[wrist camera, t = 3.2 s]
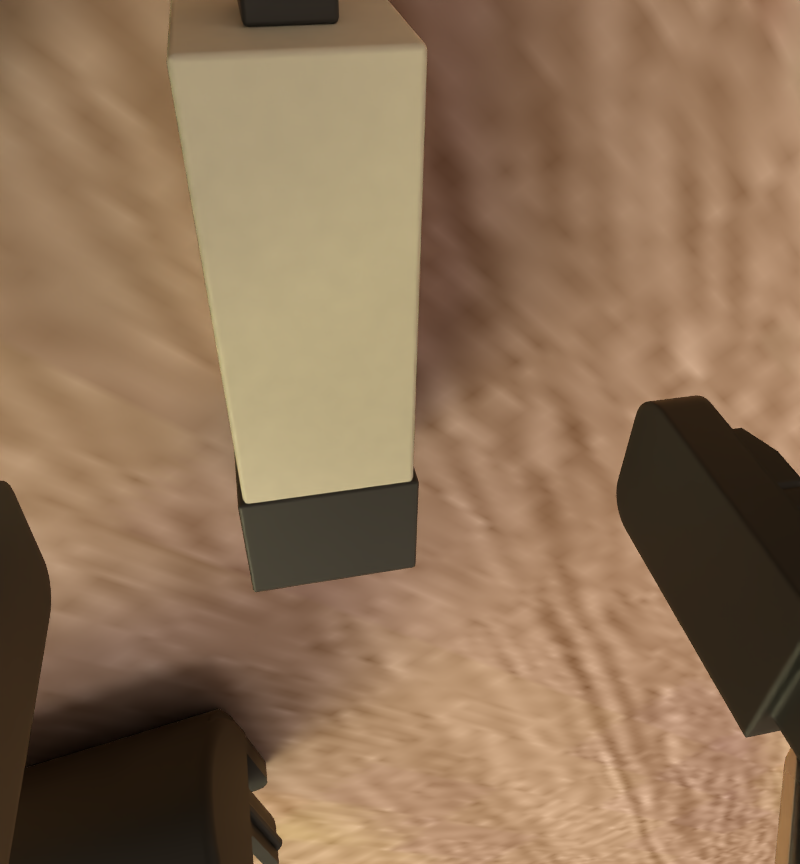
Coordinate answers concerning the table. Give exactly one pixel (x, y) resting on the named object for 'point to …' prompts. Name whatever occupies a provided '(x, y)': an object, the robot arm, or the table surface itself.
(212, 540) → the table surface
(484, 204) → the table surface
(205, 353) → the table surface
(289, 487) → the marker
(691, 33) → the table surface
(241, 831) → the end cap
